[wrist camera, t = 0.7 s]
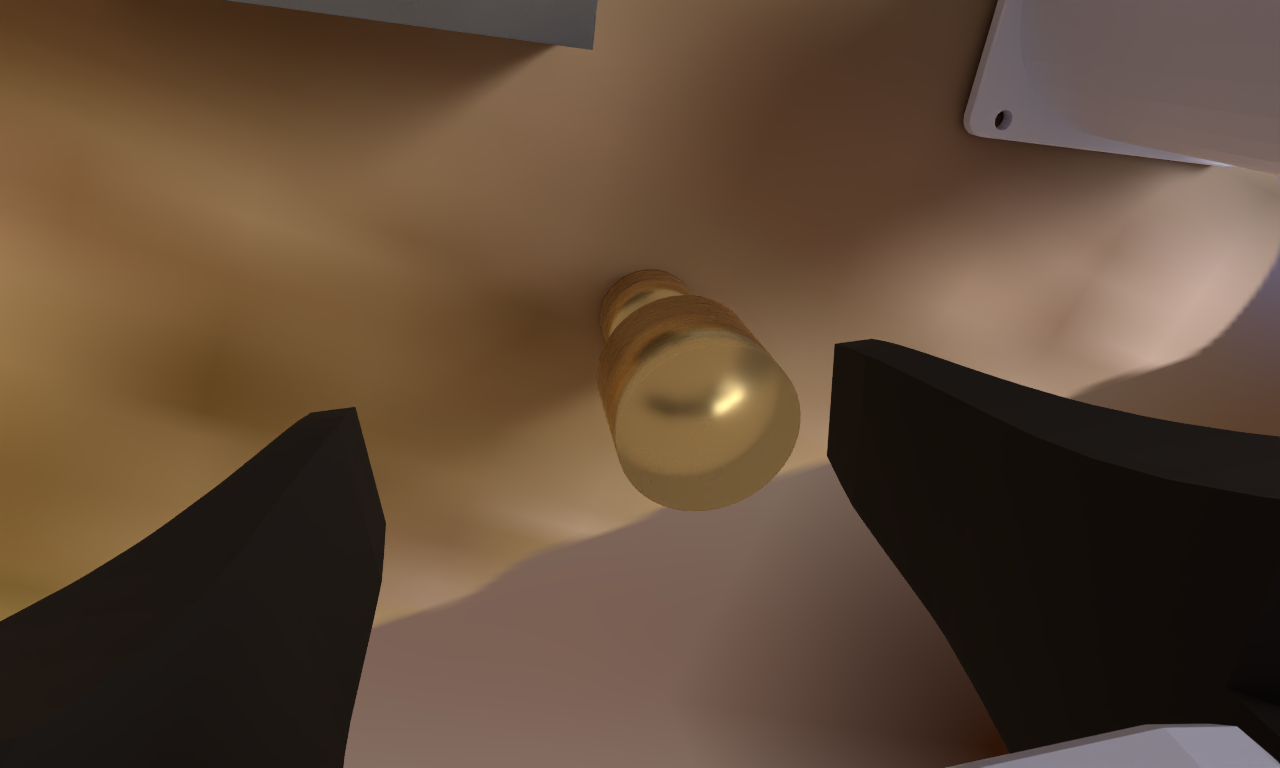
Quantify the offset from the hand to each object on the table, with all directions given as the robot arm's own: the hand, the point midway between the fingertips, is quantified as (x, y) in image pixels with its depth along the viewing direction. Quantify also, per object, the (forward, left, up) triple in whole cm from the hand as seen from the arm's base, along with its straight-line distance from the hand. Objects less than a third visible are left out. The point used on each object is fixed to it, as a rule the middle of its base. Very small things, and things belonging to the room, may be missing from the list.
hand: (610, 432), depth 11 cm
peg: (-3, +2, -10) cm, 11 cm away
